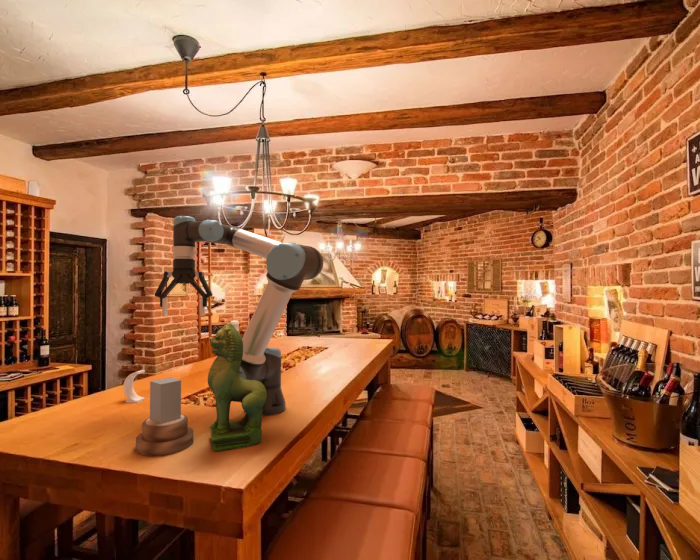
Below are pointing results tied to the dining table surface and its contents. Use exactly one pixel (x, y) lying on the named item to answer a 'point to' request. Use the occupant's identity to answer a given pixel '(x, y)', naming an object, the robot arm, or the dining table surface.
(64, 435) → the dining table surface
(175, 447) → the walnut pedestal
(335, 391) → the dining table surface
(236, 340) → the lion statue
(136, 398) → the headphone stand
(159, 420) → the slate block
